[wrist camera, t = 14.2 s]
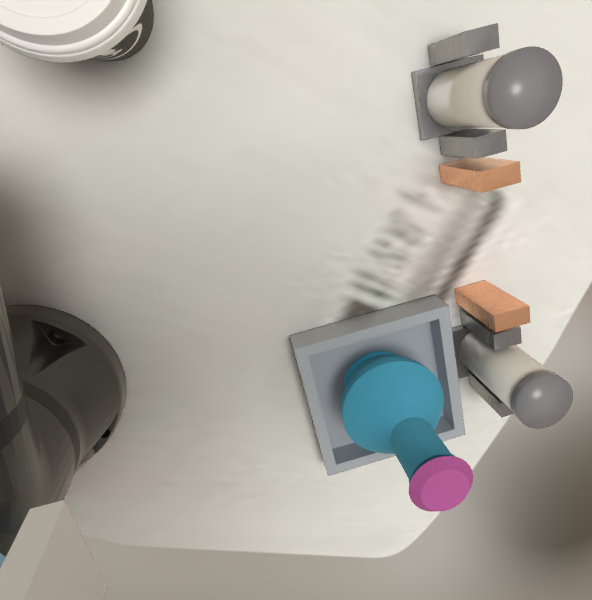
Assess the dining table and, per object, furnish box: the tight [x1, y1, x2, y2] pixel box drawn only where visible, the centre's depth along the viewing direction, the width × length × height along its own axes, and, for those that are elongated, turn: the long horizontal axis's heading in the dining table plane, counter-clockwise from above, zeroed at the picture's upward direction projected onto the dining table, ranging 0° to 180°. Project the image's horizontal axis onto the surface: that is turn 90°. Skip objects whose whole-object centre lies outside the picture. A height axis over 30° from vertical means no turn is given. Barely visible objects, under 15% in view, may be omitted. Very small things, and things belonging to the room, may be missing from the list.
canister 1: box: [427, 47, 562, 129], centre depth 34 cm, size 5×5×10 cm
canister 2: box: [459, 332, 573, 429], centre depth 42 cm, size 5×5×10 cm
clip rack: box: [412, 23, 530, 417], centre depth 40 cm, size 6×31×7 cm, turn 14°
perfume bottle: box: [341, 351, 473, 511], centre depth 40 cm, size 9×9×15 cm
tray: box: [290, 295, 466, 476], centre depth 46 cm, size 14×14×3 cm
